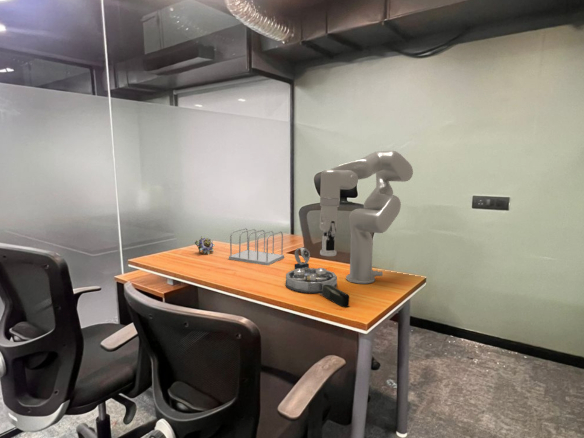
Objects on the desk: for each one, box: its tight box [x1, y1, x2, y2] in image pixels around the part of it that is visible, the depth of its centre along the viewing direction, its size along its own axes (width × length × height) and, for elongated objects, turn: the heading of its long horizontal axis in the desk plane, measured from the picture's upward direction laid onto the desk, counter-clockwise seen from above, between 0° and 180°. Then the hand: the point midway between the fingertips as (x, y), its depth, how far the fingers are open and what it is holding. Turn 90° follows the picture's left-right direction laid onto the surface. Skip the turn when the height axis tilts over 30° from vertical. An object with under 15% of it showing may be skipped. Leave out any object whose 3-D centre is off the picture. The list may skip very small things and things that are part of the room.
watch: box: [294, 247, 311, 269], centre depth 168 cm, size 6×8×11 cm
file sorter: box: [228, 227, 285, 266], centre depth 189 cm, size 25×17×16 cm
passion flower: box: [194, 236, 216, 255], centre depth 202 cm, size 11×11×12 cm
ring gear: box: [285, 267, 338, 291], centre depth 146 cm, size 21×21×3 cm
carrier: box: [285, 267, 338, 295], centre depth 146 cm, size 22×22×6 cm
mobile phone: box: [319, 285, 350, 308], centre depth 129 cm, size 5×3×15 cm
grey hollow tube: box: [319, 234, 338, 257], centre depth 136 cm, size 6×6×8 cm
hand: (328, 248), depth 136 cm, fingers closed on grey hollow tube, 4 cm apart
